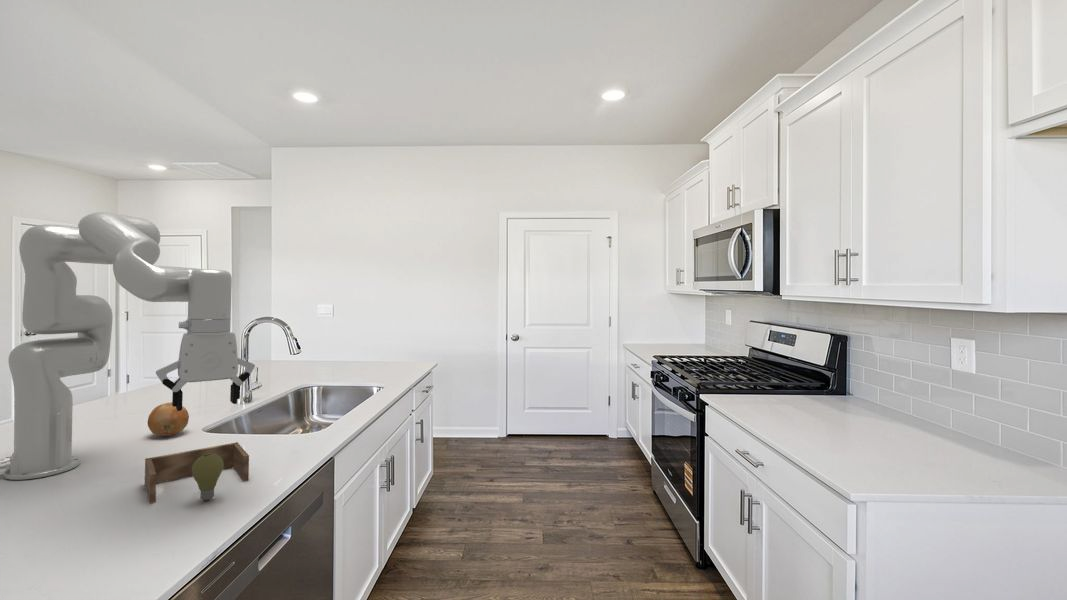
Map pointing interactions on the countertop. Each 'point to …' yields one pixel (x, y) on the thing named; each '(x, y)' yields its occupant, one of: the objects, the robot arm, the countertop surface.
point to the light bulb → (207, 474)
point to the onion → (167, 420)
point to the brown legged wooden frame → (182, 465)
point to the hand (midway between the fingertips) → (207, 406)
